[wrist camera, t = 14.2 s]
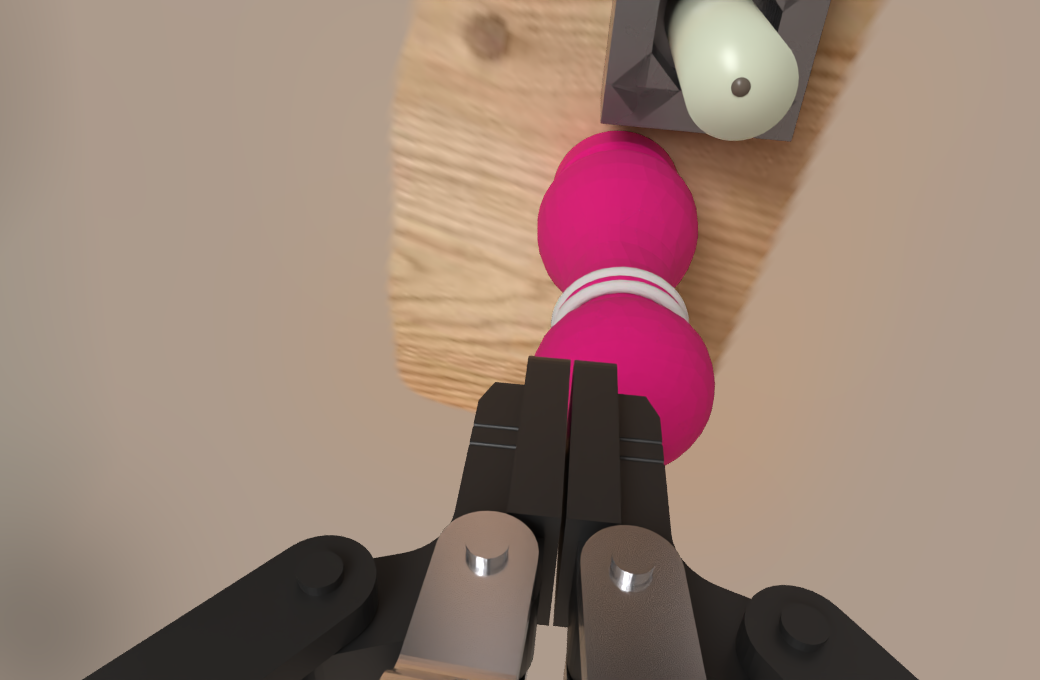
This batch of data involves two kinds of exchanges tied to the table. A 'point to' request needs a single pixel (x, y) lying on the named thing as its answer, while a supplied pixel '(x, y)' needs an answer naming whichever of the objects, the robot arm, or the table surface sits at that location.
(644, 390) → the pepper mill
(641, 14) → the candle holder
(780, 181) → the table surface
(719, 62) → the candle
